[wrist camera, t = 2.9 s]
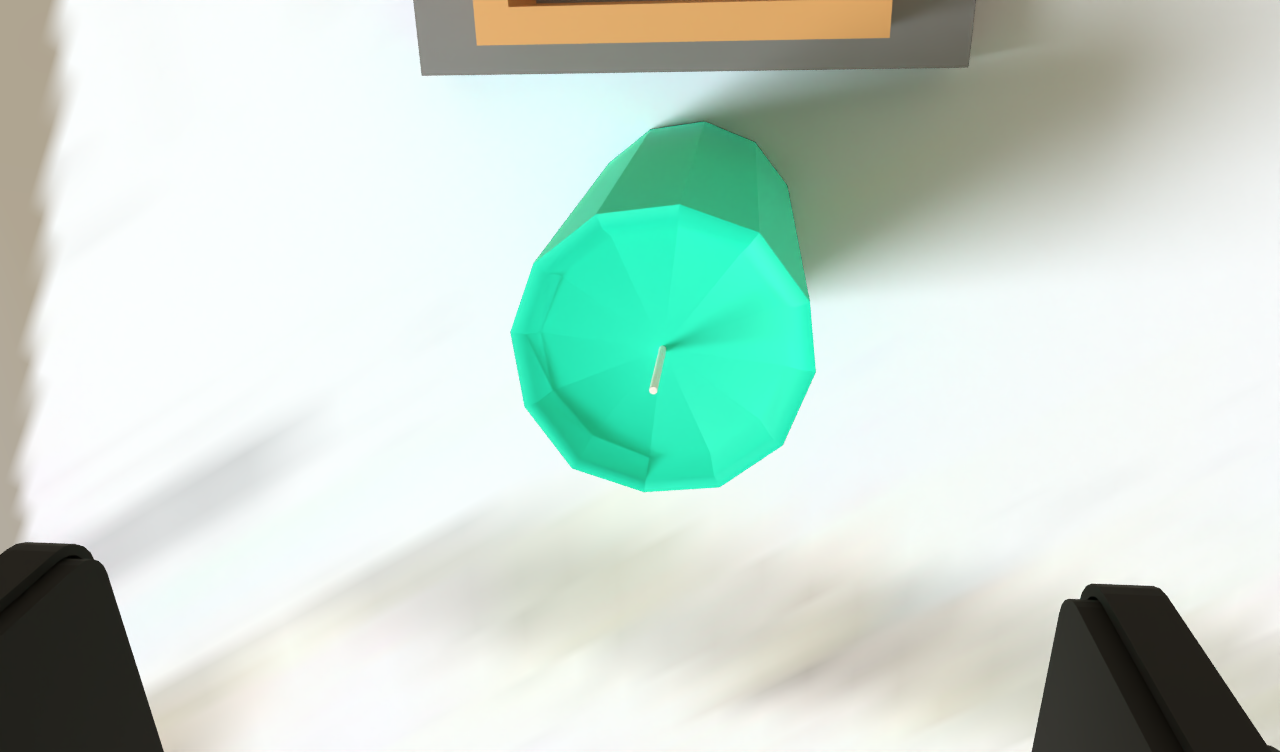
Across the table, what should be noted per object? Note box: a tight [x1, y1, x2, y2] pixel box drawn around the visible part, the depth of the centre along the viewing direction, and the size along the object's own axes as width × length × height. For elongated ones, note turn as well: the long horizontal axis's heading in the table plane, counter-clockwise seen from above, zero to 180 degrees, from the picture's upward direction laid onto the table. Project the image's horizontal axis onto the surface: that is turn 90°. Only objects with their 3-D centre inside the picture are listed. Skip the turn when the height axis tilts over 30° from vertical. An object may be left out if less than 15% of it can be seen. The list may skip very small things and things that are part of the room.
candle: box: [511, 121, 816, 492], centre depth 22 cm, size 6×6×12 cm
